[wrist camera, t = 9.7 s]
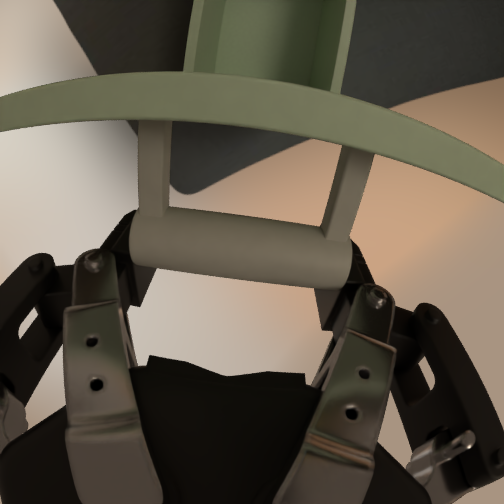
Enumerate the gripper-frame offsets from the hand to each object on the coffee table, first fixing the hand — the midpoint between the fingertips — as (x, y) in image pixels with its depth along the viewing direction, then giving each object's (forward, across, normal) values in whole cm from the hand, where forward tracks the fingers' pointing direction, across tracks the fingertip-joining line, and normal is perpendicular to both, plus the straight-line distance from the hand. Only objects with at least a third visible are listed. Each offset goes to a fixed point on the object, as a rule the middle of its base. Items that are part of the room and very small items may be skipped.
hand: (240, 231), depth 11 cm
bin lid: (+3, 0, -6) cm, 6 cm away
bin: (+23, 0, -13) cm, 26 cm away
